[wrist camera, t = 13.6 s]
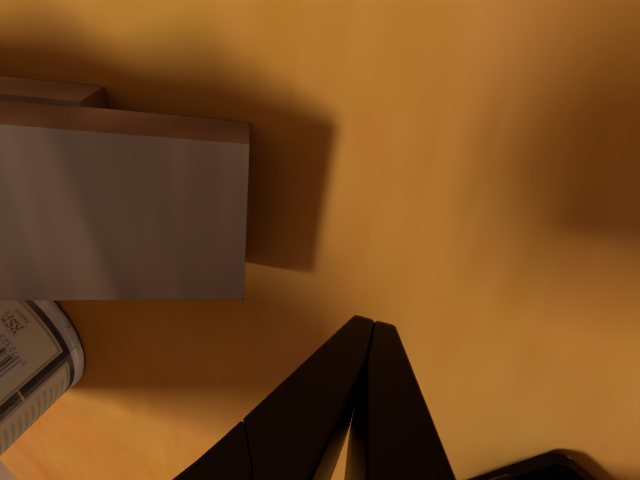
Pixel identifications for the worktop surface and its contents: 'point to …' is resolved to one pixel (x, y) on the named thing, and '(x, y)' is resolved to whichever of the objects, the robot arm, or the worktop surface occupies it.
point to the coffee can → (34, 363)
